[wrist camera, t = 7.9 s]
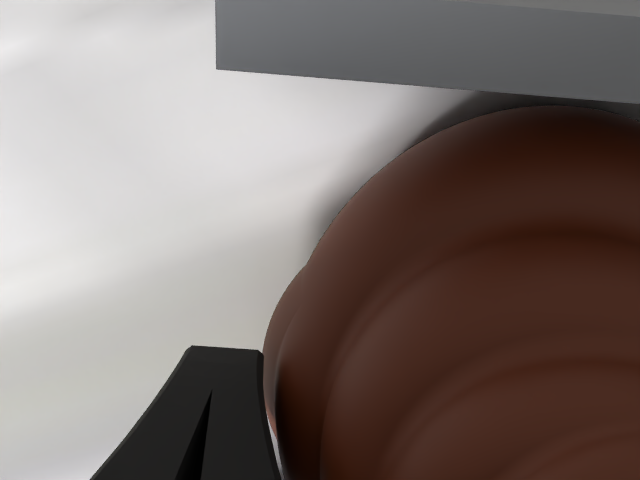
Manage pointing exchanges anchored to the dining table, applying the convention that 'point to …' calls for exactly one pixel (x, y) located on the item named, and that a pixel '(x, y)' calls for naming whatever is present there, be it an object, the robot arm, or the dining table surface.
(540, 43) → the box
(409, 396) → the poop emoji
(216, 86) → the dining table surface
